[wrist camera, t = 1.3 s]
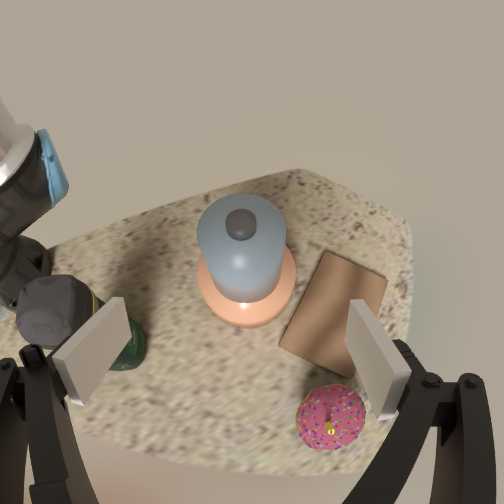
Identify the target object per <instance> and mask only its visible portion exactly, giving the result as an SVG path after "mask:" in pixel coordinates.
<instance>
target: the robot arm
mask: <svg viewBox="0 0 504 504" xmlns="http://www.w3.org/2000/svg"><path fill="white" fill-rule="evenodd" d="M68 189H69V184H68V181H67V178H66V176H65V173H64V171H63V168H62V166H61V163H60V161H59V158H58V156H57V153H56V151H55V149H54V146H53V143H52V141H51V139H50V136H49V134H48V132H47V130H46V129H42V130H39V131H37V133H35V131H34V130H33V128H32V127H31V126H30V125H28V124H17V123H16V122H15V120H14V119H13V117H12V115H11V114H10V112H9V111H8V109H7V107H6V106H5V104H4V103H3V101H2V99H1V97H0V303H1V304H2V305H3V306H4V307H5V308H7V309H9V310H10V311H12V312H14V313H17V306H18V301H19V296H20V292H21V290H22V289H23V288H24V287H25V286H26V285H27V284H28V283H30V282H31V281H33V280H34V279H37V278H40V277H45V276H50V270H51V261H50V256H49V253H48V251H47V250H46V249H45V247H44V246H43V245H41V244H40V243H39V242H38V241H36V240H34V239H31V238H28V237H26V236H23V235H20V234H21V233H22V232H23V231H24V230H25V229H26V228H28V227H29V226H30V225H31V224H32V223H34V222H35V221H36V220H37V219H39V218H40V217H41V216H42V215H44V214H45V213H46V212H48V211H49V210H50V209H51V208H53V207H54V206H55V204H57V203H58V202H59V201H60V200H61V199H62V198H64V197H65V196H66V194H67V192H68ZM131 337H132V335H131V330H130V326H129V321H128V317H127V312H126V307H125V302H124V297H112V298H111V299H110V300H109V301H108V302H107V303H106V304H105V305H104V306H103V307H101V308H100V309H99V310H98V311H97V312H96V313H95V314H94V315H93V316H92V317H91V318H90V319H89V320H88V321H87V322H86V323H85V324H84V325H83V326H82V327H81V328H80V329H79V330H78V331H77V332H76V333H73V334H71V335H69V336H67V337H66V338H65V339H64V340H63V341H62V343H60V344H59V345H58V347H56V348H55V349H54V350H53V351H52V352H51V353H50V354H49V355H48V356H47V357H45V355H44V352H43V350H42V347H41V346H40V345H39V344H29V345H26V346H25V347H23V348H22V349H21V350H20V351H19V356H20V358H21V360H22V362H23V365H24V367H17V364H16V362H15V360H14V359H13V358H4V359H1V360H0V504H23V497H24V476H25V464H26V455H27V447H28V444H29V452H30V459H31V465H32V470H33V476H34V481H35V484H34V485H30V487H29V492H30V497H31V501H32V504H99V502H98V500H97V498H96V495H95V493H94V491H93V488H92V486H91V483H90V480H89V478H88V475H87V473H86V470H85V467H84V464H83V461H82V458H81V455H80V452H79V449H78V446H77V442H76V439H75V435H74V431H73V428H72V424H71V420H70V416H69V412H68V407H67V403H66V401H65V399H64V397H65V396H66V395H67V393H68V395H69V397H70V399H71V401H72V402H73V403H76V404H79V405H83V406H84V405H85V403H86V402H87V400H88V399H89V397H90V396H91V394H92V393H93V391H94V390H95V389H96V387H97V386H98V384H99V383H100V381H101V380H102V378H103V377H104V375H105V374H106V372H107V371H108V370H109V368H110V367H111V365H112V364H113V362H114V361H115V360H116V358H117V357H118V355H119V354H120V353H121V351H122V350H123V348H124V347H125V346H126V344H127V343H128V341H129V340H130V339H131ZM344 341H345V343H346V346H347V348H348V350H349V353H350V355H351V357H352V360H353V362H354V364H355V367H356V369H357V371H358V374H359V376H360V379H361V381H362V384H363V386H364V388H365V391H366V393H367V396H368V398H369V401H370V403H371V406H372V408H373V411H374V413H375V416H376V419H377V421H380V420H385V419H390V418H393V417H394V415H395V412H396V410H398V412H399V415H398V417H397V419H396V420H395V422H394V424H393V426H392V428H391V430H390V432H389V433H388V435H387V437H386V439H385V440H384V442H383V444H382V446H381V447H380V449H379V451H378V452H377V454H376V455H375V457H374V459H373V460H372V462H371V463H370V465H369V466H368V468H367V469H366V471H365V472H364V474H363V475H362V477H361V478H360V480H359V481H358V483H357V484H356V486H355V487H354V488H353V490H352V491H351V492H350V494H349V495H348V496H347V498H346V499H345V500H344V502H343V503H342V504H394V503H395V501H396V499H397V498H398V496H399V494H400V492H401V490H402V488H403V487H404V484H405V483H406V481H407V479H408V477H409V475H410V472H411V471H412V468H413V466H414V464H415V462H416V460H417V458H418V455H419V453H420V451H421V448H422V446H423V444H424V441H425V438H426V436H427V433H428V431H429V428H430V427H431V426H432V427H434V426H436V427H437V428H438V429H437V446H436V459H435V469H434V477H433V485H432V491H431V498H430V503H429V504H496V463H495V449H494V440H493V431H492V423H491V417H490V411H489V405H488V400H487V395H486V390H485V385H484V382H483V380H482V379H481V378H480V377H479V376H478V375H476V374H472V373H465V374H463V375H461V376H460V378H459V380H458V382H457V383H456V382H443V380H442V379H441V378H440V377H439V376H438V375H436V374H434V373H430V372H426V370H425V369H424V367H423V366H422V365H421V363H420V362H419V360H418V359H417V357H415V355H414V353H413V352H411V349H410V348H409V346H408V345H407V344H406V343H404V342H403V341H401V340H400V339H397V340H391V338H390V337H389V335H388V334H387V333H386V331H385V330H384V328H383V327H382V325H381V324H380V322H379V321H378V320H377V318H376V317H375V315H374V314H373V312H372V311H371V310H370V308H369V307H368V305H367V304H366V303H365V301H364V300H363V299H352V300H350V306H349V313H348V320H347V327H346V333H345V340H344ZM11 399H12V402H11Z"/></svg>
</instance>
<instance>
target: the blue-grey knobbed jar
mask: <svg viewBox="0 0 504 504" xmlns="http://www.w3.org/2000/svg"><path fill="white" fill-rule="evenodd" d="M286 233H287V226H286V221H285V218H284V216H283V214H282V212H281V211H280V209H279V208H278V207H277V206H276V205H275V204H274V203H272V202H271V201H269V200H268V199H266V198H264V197H261V196H258V195H254V194H247V193H241V194H233V195H229V196H226V197H223V198H221V199H219V200H217V201H216V202H214V203H213V204H211V205H210V206H209V207H208V208H207V209H206V210H205V212H204V213H203V215H202V216H201V218H200V220H199V223H198V228H197V238H198V242H199V245H200V248H201V251H202V253H203V256H204V259H205V261H206V264H207V267H208V269H209V272H210V275H211V277H212V280H213V282H214V285H215V287H216V288H217V290H218V291H219V292H220V293H221V294H222V295H223V296H224V297H226V298H227V299H229V300H231V301H234V302H238V303H253V302H257V301H260V300H262V299H264V298H266V297H267V296H269V295H270V294H271V293H272V292H273V291H274V290H275V288H276V287H277V285H278V283H279V280H280V275H281V269H282V262H283V255H284V248H285V241H286Z"/></svg>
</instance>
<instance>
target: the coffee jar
mask: <svg viewBox="0 0 504 504" xmlns="http://www.w3.org/2000/svg"><path fill="white" fill-rule="evenodd" d="M105 304H106V303H105V302H103V301H102V300H100V299H99V298H97V297H96V296H95V294H94V292H93V291H92V290H91V288H90V287H89V286H88V285H86V284H84V283H83V282H81V281H79V280H78V279H76V278H75V277H73V276H71V275H65V274H64V275H50V276H45V277H40V278H37V279H34V280H33V281H31V282H30V283H28V284H27V285H26V286H25V287H24V288H23V289H22V290H21V292H20V296H19V301H18V306H17V313H16V325H17V327H18V330H19V332H20V334H21V336H22V337H23V338H24V339H25V340H26V341H27V342H28V343H30V344H39V345H40V346H41V347H42V349H43V350H47V351H50V352H52V351H53V350H54V349H55V348H56V347H58V345H59V344H60V343H62V341H63V340H64V339H65V338H66V337H67V336H69V335H71V334H73V333H76V332H77V331H78V330H79V329H80V328H81V327H82V326H83V325H84V324H85V323H86V322H87V321H88V320H89V319H90V318H91V317H92V316H93V315H94V314H95V313H96V312H97V311H98V310H99V309H100V308H101V307H103V306H104V305H105ZM128 321H129V326H130V330H131V335H132V337H131V339H130V340H129V341H128V343H127V344H126V346H125V347H124V348H123V350H122V351H121V353H120V354H119V355H118V357H117V358H116V360H115V361H114V362H113V364H112V365H111V367H110V368H109V370H113V371H125V370H132V369H135V368H137V367H138V366H139V365H140V364H141V363H142V361H143V358H144V354H145V338H144V332H143V329H142V327H141V326H140V325H139V324H138V323H137V322H135V321H134V320H132V319H130V318H129V317H128Z"/></svg>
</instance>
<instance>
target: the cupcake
mask: <svg viewBox="0 0 504 504" xmlns="http://www.w3.org/2000/svg"><path fill="white" fill-rule="evenodd" d="M365 413H366V411H365V406H364V403H363V401H362V399H361V397H360V396H359V395H358V394H356V392H354V391H353V390H352V389H350V388H348V387H346V386H345V385H342V384H330V385H326V386H323V387H319V388H316V389H313V390H312V391H311V392H310V393H309V394H308V395H307V396H306V397H305V399H304V400H303V401H302V403H301V404H300V406H299V408H298V411H297V414H296V428H297V432H298V434H299V436H300V437H301V438H302V440H303V442H304V443H305V444H306V445H307V446H309V447H310V448H313V449H316V450H333V449H335V450H337V449H338V448H341V447H343V446H345V445H348V444H350V443H351V442H352V441H353V440H355V439H356V437H358V435H359V433H360V432H361V430H362V429H363V426H364V424H365Z"/></svg>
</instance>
